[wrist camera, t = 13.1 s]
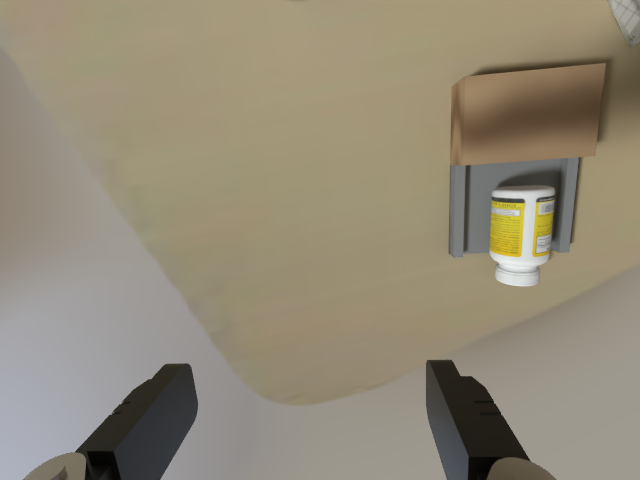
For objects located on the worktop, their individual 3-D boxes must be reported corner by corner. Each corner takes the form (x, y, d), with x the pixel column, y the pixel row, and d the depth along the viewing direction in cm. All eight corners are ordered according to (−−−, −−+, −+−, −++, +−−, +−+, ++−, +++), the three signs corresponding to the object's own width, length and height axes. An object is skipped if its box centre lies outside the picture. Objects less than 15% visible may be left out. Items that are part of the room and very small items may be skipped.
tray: (450, 165, 36) (455, 165, 34) (567, 156, 34) (579, 156, 33) (448, 253, 38) (453, 257, 36) (558, 247, 37) (568, 252, 35)
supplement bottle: (486, 186, 36) (482, 271, 38) (500, 190, 30) (495, 289, 33) (541, 183, 34) (534, 271, 36) (567, 187, 29) (557, 290, 31)
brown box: (451, 86, 34) (465, 76, 30) (575, 74, 33) (605, 62, 29) (450, 165, 36) (463, 165, 32) (567, 156, 34) (595, 156, 31)
